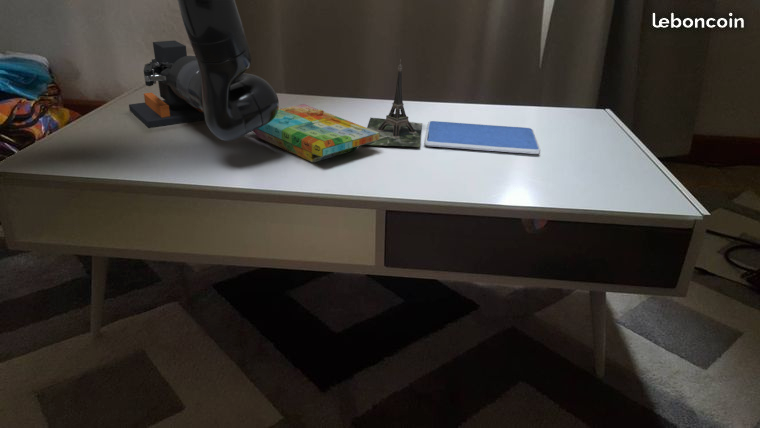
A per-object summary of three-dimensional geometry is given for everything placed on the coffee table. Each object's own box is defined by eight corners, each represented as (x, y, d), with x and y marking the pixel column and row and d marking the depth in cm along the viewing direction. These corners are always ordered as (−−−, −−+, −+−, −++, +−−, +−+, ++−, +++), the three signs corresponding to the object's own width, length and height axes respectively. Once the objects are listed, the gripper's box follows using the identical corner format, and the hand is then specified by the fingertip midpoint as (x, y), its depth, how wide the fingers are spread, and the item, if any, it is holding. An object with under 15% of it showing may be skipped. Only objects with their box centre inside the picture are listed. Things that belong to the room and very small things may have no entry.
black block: (170, 104, 103) (163, 47, 99) (160, 96, 107) (152, 42, 103) (192, 101, 105) (185, 45, 101) (181, 93, 110) (174, 40, 105)
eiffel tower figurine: (369, 120, 109) (371, 48, 103) (422, 123, 108) (427, 51, 102) (361, 146, 96) (363, 66, 90) (421, 150, 95) (427, 70, 89)
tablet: (423, 148, 96) (424, 140, 95) (427, 125, 107) (428, 118, 107) (540, 158, 94) (541, 150, 94) (531, 134, 105) (533, 127, 105)
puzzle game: (301, 99, 103) (379, 127, 90) (302, 124, 105) (378, 155, 92) (245, 110, 95) (322, 143, 83) (247, 137, 97) (322, 173, 85)
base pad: (148, 128, 100) (145, 110, 98) (129, 110, 108) (126, 93, 107) (224, 116, 107) (223, 100, 106) (201, 101, 116) (200, 85, 114)
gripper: (239, 56, 96) (202, 39, 108) (152, 64, 88) (123, 45, 100) (242, 100, 99) (206, 79, 111) (159, 111, 91) (129, 88, 104)
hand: (166, 63), depth 106 cm, fingers closed on black block, 4 cm apart
